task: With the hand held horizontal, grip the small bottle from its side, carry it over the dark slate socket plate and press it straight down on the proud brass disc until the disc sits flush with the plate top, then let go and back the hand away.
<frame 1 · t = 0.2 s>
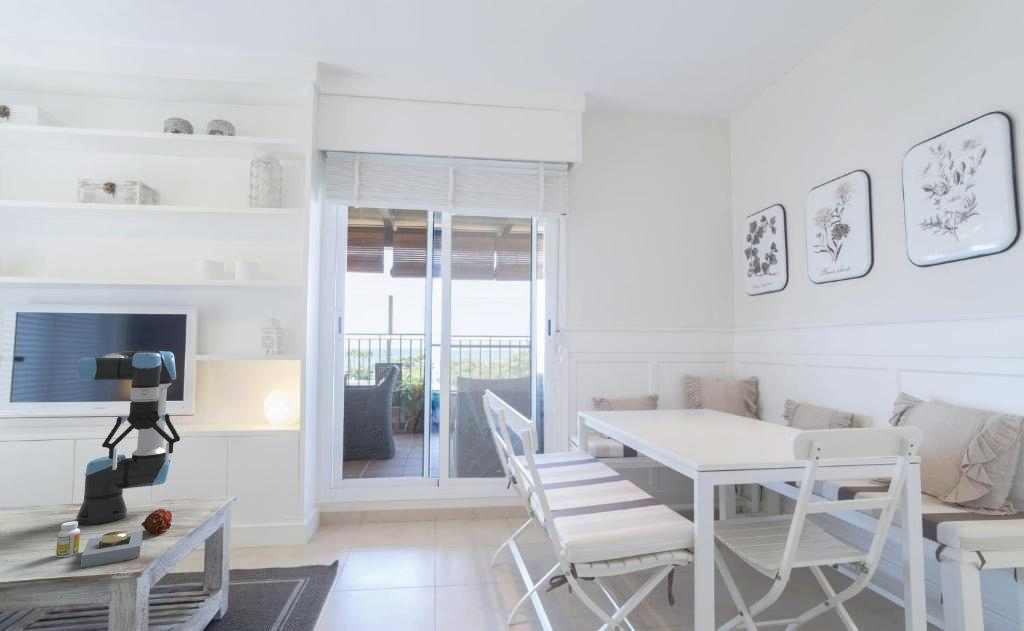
hand: (141, 466, 161), 27 cm above the table, tool pointing down, fingers open, 13 cm apart
supplement bottle: (67, 555, 158), on the table
plunger disc: (114, 538, 159), point 5 cm above the table, slide at 0.0 cm
socket plate: (113, 553, 159), on the table
dragon fruit: (157, 532, 179), on the table
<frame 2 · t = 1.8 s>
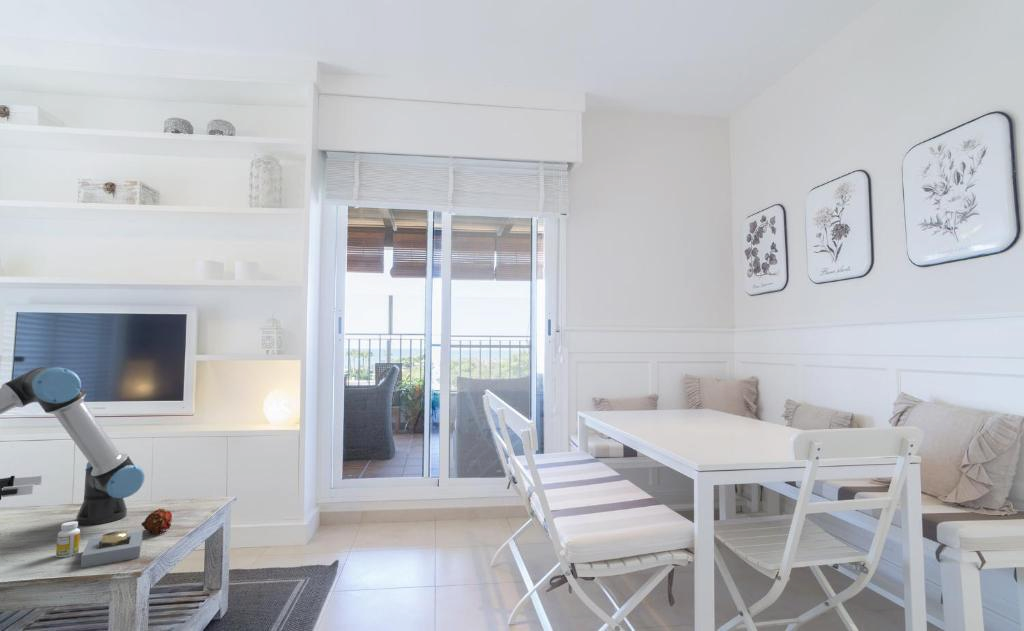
hand: (37, 484, 158), 22 cm above the table, tool horizontal, fingers open, 13 cm apart
nothing on the table moved.
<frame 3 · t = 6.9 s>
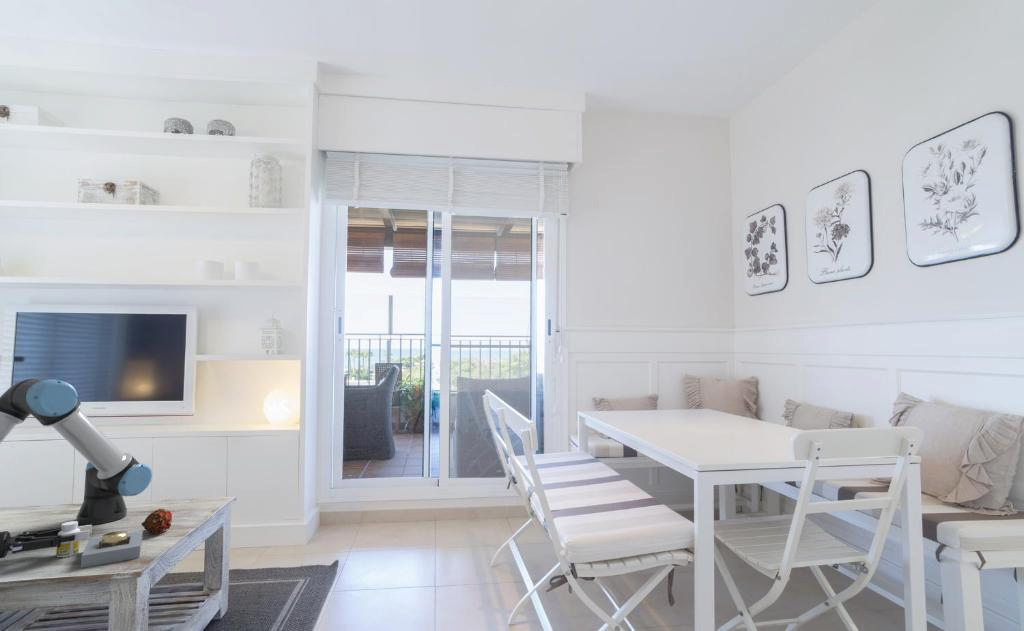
hand: (90, 531, 161), 6 cm above the table, tool horizontal, fingers closed on supplement bottle, 5 cm apart
supplement bottle: (67, 555, 158), on the table, touching gripper
everything else where it was.
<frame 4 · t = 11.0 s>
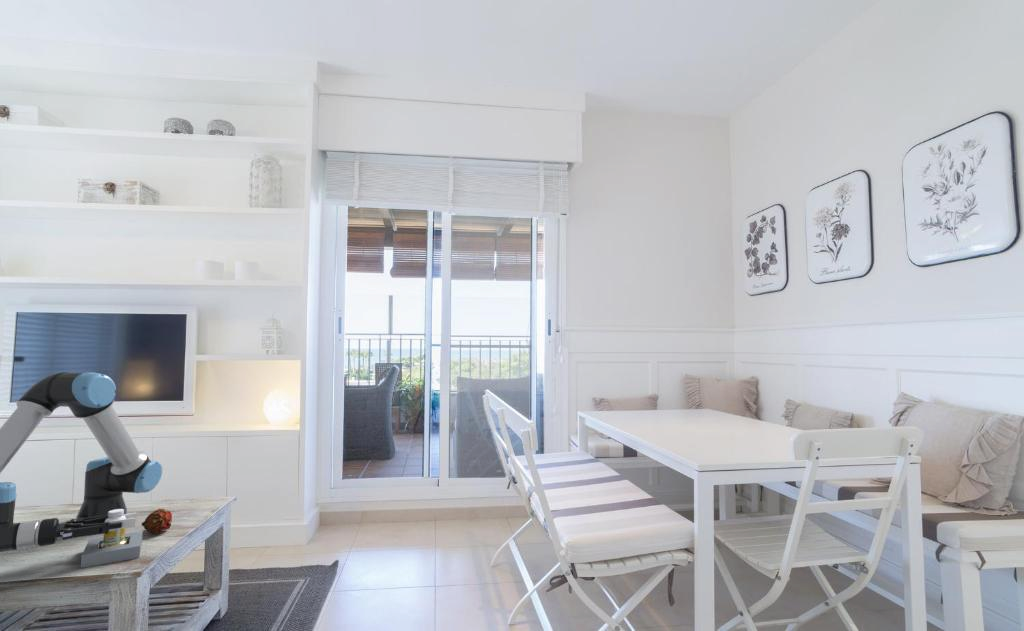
hand: (135, 519, 163), 10 cm above the table, tool horizontal, fingers closed on supplement bottle, 5 cm apart
supplement bottle: (113, 542, 159), point 4 cm above the table, touching gripper, plunger disc
plunger disc: (113, 545, 159), point 2 cm above the table, slide at -2.3 cm, touching supplement bottle
everything else where it was.
when the fingers open (10 cm above the table, at t = 11.2 s): supplement bottle stays where it is, resting on plunger disc.
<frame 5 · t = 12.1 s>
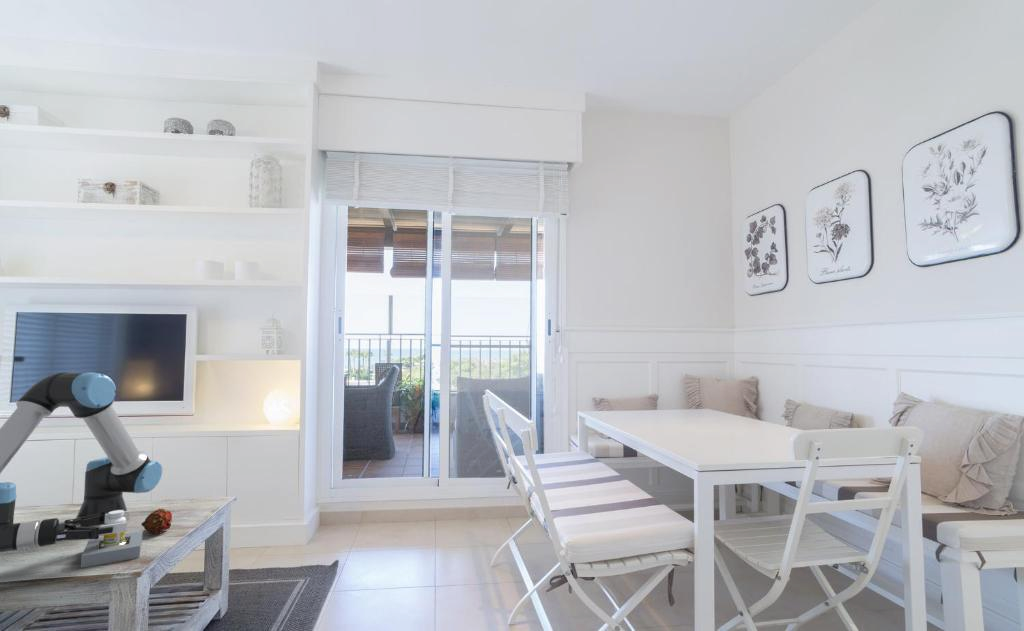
hand: (128, 520, 162), 10 cm above the table, tool horizontal, fingers open, 13 cm apart
supplement bottle: (113, 543, 159), point 3 cm above the table, touching plunger disc
plunger disc: (113, 546, 159), point 2 cm above the table, slide at -2.6 cm, touching supplement bottle
everything else where it was.
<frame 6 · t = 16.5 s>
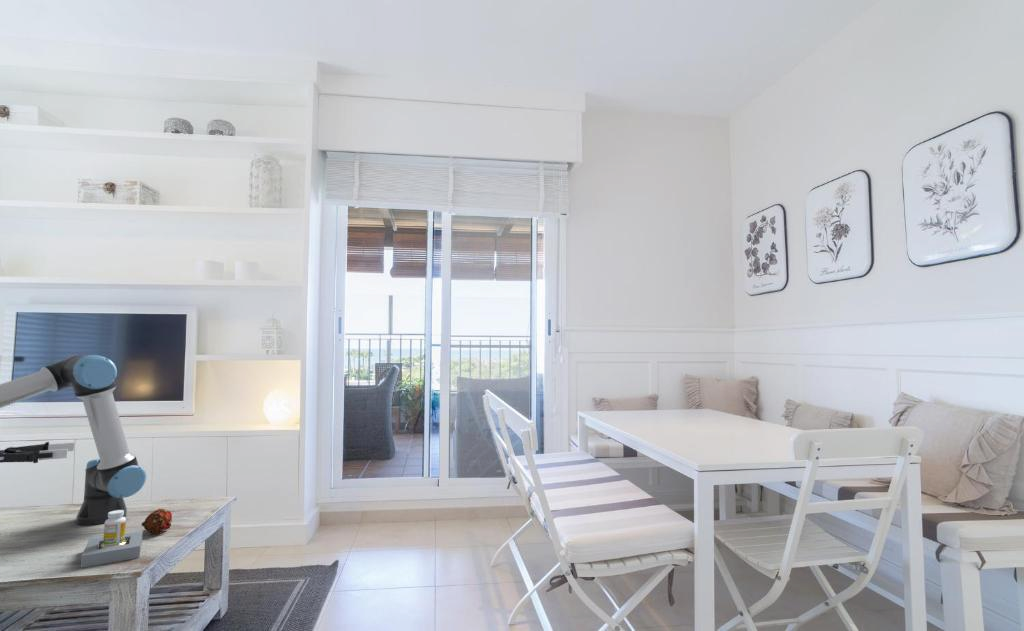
hand: (71, 449, 164), 32 cm above the table, tool horizontal, fingers open, 13 cm apart
nothing on the table moved.
at the end: plunger disc slide at -2.6 cm; supplement bottle 0.1 cm from the plunger disc (horizontally); supplement bottle tilted 0° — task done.
